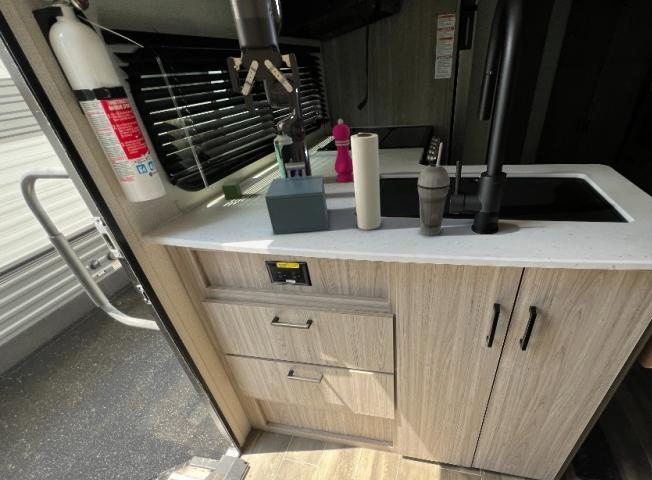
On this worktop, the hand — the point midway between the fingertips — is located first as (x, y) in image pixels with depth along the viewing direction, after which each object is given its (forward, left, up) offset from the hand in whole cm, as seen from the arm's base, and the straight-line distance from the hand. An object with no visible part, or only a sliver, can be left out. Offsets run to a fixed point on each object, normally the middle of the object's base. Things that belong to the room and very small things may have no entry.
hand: (272, 113), depth 72 cm
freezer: (-1, +2, -26) cm, 26 cm away
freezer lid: (-1, +2, -17) cm, 17 cm away
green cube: (-29, -23, -26) cm, 45 cm away
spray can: (-22, -2, -26) cm, 34 cm away
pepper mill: (-38, +16, -26) cm, 49 cm away
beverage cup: (+14, +34, -26) cm, 45 cm away
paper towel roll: (+6, +20, -26) cm, 34 cm away
